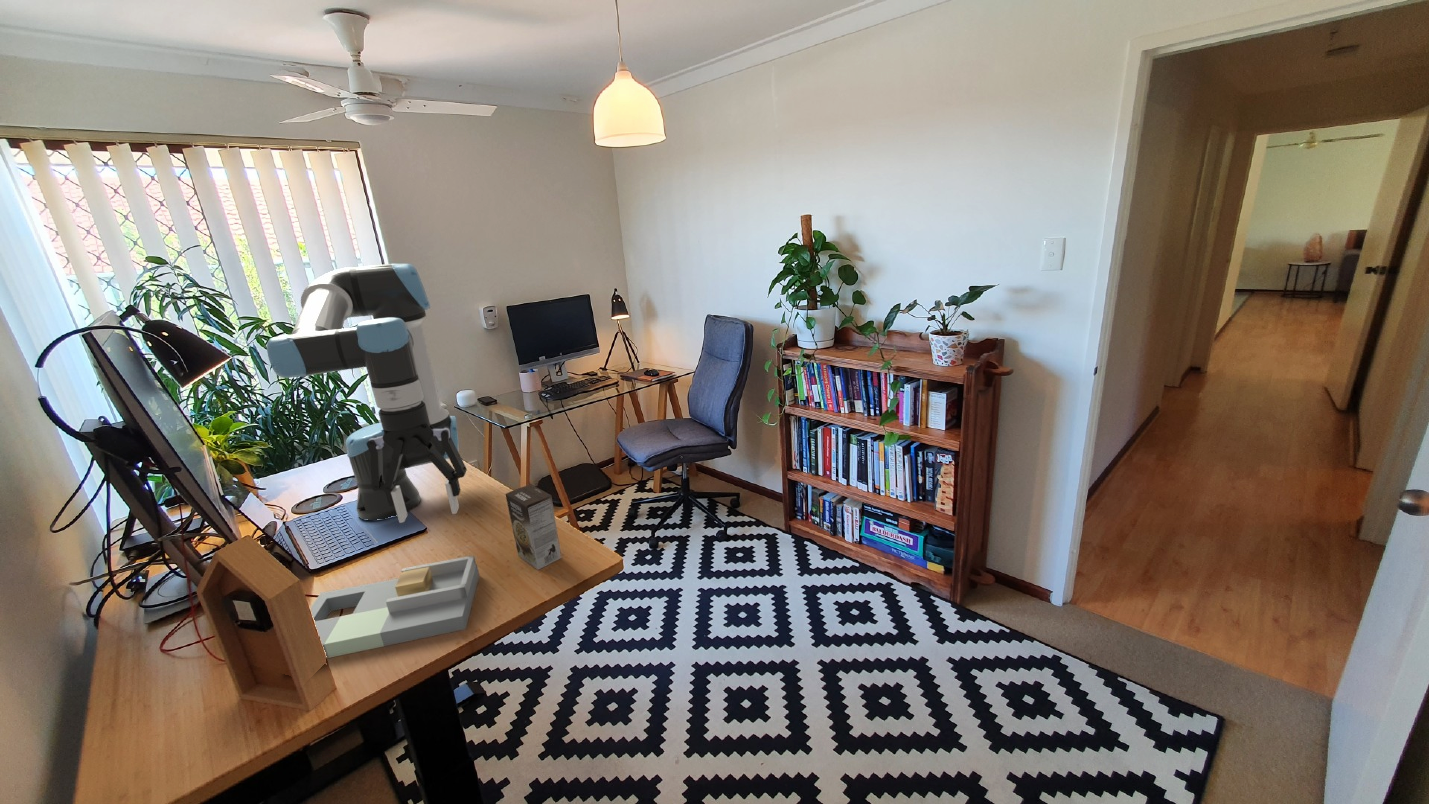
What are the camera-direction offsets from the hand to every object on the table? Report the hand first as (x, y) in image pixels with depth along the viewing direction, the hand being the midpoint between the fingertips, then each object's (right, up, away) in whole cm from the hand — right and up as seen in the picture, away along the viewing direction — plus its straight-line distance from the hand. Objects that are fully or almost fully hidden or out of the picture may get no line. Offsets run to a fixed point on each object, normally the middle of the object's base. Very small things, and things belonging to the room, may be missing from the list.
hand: (429, 514), depth 105 cm
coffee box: (+15, -14, +18) cm, 28 cm away
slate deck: (-8, -20, +2) cm, 22 cm away
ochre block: (-5, -16, +4) cm, 17 cm away
